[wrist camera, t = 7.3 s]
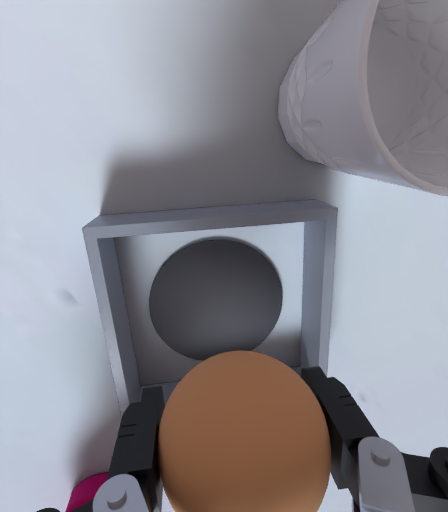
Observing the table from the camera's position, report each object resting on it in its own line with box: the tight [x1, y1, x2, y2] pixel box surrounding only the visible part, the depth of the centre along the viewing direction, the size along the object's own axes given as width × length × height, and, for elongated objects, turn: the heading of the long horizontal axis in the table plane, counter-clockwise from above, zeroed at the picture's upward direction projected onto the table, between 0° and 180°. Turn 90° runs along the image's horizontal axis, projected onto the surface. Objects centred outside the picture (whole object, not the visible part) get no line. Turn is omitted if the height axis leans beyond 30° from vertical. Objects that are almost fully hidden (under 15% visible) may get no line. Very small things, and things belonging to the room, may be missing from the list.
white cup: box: [278, 0, 448, 196], centre depth 13 cm, size 8×8×10 cm
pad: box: [149, 240, 282, 361], centre depth 21 cm, size 9×9×1 cm
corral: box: [82, 199, 338, 416], centre depth 19 cm, size 13×13×3 cm
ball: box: [157, 350, 331, 512], centre depth 11 cm, size 6×6×6 cm
